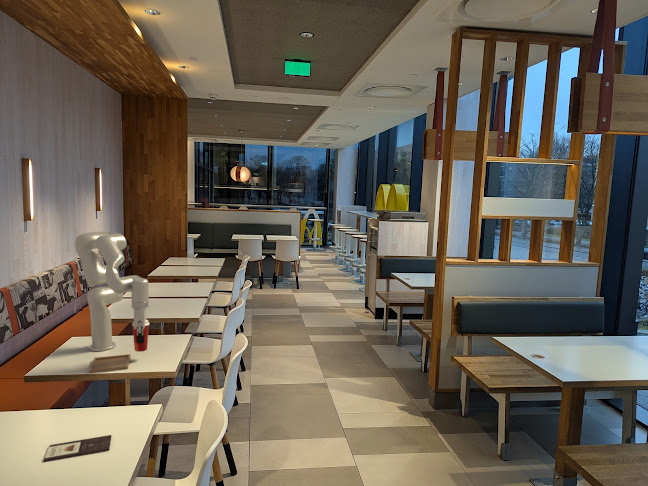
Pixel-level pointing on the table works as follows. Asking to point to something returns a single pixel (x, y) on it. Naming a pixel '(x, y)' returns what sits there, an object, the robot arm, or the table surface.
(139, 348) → the paper cup
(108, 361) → the tray
